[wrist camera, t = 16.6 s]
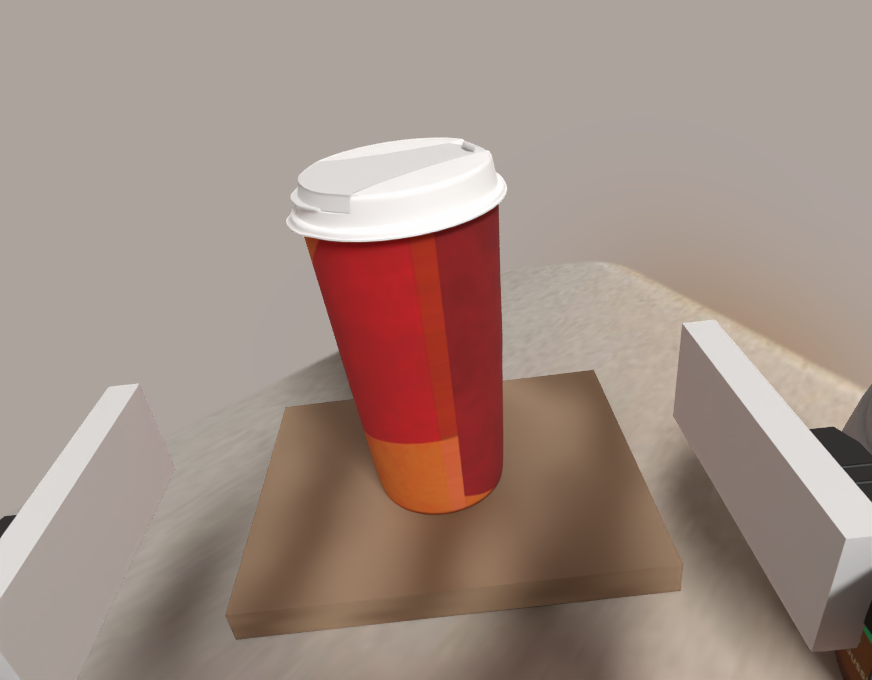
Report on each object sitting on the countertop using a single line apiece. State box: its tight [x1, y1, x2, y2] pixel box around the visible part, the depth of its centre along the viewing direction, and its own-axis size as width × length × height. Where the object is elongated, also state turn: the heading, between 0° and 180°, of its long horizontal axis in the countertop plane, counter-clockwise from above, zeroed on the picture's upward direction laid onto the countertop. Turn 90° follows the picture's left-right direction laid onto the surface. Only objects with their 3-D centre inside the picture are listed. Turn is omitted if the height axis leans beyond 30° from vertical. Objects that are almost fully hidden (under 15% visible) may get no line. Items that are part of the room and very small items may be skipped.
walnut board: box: [226, 370, 683, 639], centre depth 31 cm, size 18×14×2 cm
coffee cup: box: [286, 138, 507, 515], centre depth 27 cm, size 8×8×15 cm
